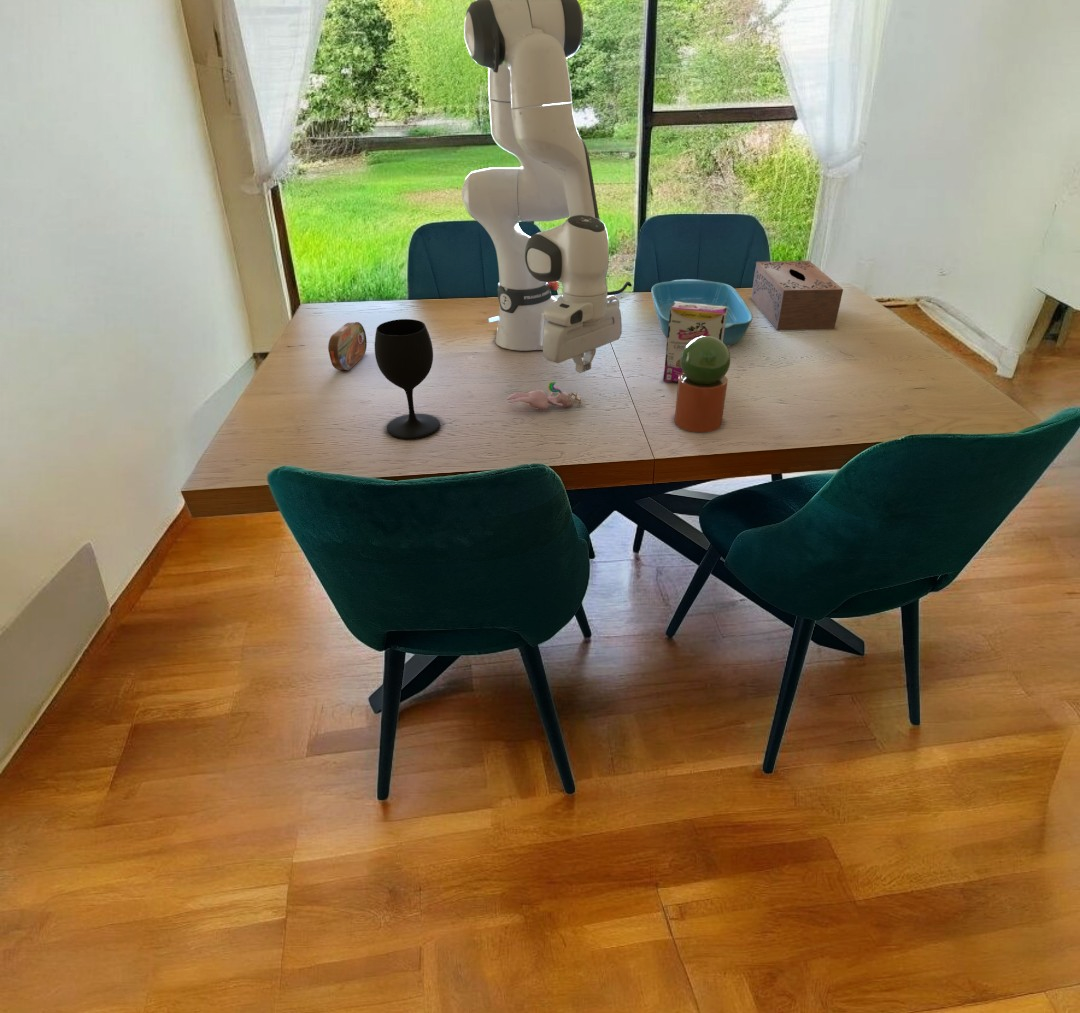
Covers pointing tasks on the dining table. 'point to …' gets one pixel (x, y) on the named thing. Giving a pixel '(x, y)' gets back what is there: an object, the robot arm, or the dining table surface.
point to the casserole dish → (703, 294)
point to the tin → (347, 346)
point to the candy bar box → (690, 331)
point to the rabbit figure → (545, 398)
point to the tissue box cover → (796, 295)
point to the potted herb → (702, 385)
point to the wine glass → (406, 371)
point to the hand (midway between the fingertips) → (583, 370)
